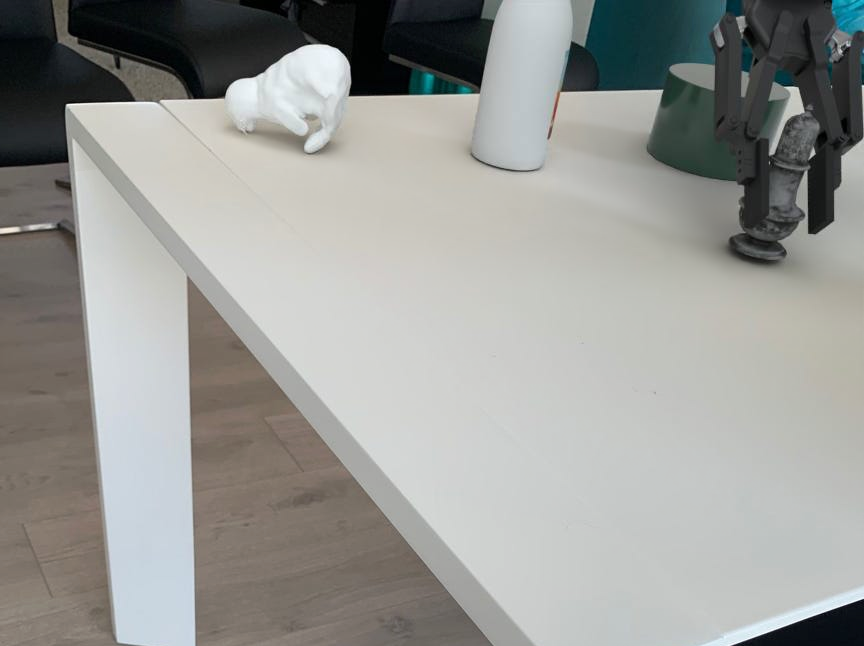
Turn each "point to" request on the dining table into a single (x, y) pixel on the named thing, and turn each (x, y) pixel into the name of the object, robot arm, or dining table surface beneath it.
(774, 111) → the pedestal
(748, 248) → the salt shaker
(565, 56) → the milk bottle
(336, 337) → the dining table surface
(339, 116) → the white figurine
